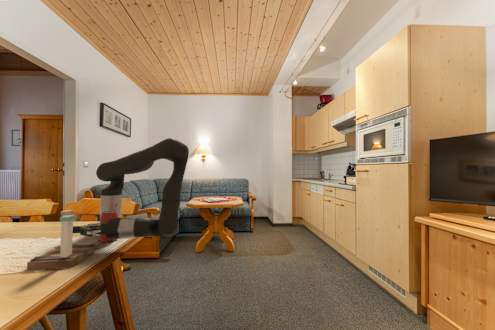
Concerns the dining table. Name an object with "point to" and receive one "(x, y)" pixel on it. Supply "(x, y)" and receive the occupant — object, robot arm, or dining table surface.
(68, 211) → the white tall bar
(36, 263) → the wooden slider base
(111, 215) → the beer can
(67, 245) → the teal slider
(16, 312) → the dining table surface
